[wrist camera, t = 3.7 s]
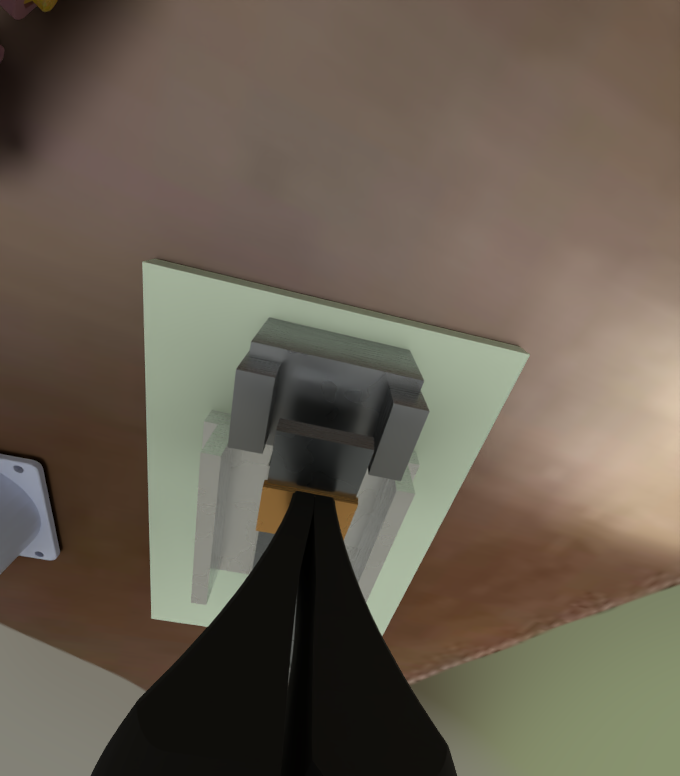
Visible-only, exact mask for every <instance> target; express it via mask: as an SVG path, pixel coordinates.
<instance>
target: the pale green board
mask: <svg viewBox="0 0 680 776" xmlns="http://www.w3.org/2000/svg"><path fill="white" fill-rule="evenodd" d="M142 263H143V302H144V342H145V381H146V421H147V460H148V500H149V540H150V579H151V619H158V620H165V621H172V622H179V623H185V624H192V625H199V626H206V627H208V626H209V625H210V624H211V622H212V621H213V620H214V619H215V618H216V616H217V615H218V614H219V613H220V612H221V610H222V609H223V608H224V607H225V605H226V604H227V603H228V602H229V600H230V599H231V598H232V597H233V595H234V594H235V593H236V591H237V590H238V589H239V587H240V586H241V585H242V583H243V582H244V581H245V579H246V578H247V577H248V575H249V574H243V573H237V572H231V571H225V570H219V571H218V574H217V577H216V580H215V582H214V585H213V588H212V591H211V594H210V596H209V599H208V602H207V605H202V604H196V603H191V593H192V577H193V561H194V546H195V530H196V514H197V498H198V482H199V466H200V452H201V450H202V442H203V427H204V421H205V419H206V418H207V416H208V415H209V413H210V412H211V410H215V411H220V412H224V413H229V414H231V411H232V401H233V392H234V383H235V373H236V369H237V367H238V366H239V364H240V363H241V361H242V360H243V359H244V357H245V356H246V354H247V353H248V352H249V350H250V345H251V341H252V340H253V338H254V337H255V335H256V334H257V333H258V331H259V330H260V329H261V327H262V326H263V325H264V323H265V322H266V321H267V319H268V318H269V317H270V318H275V319H279V320H283V321H288V322H292V323H296V324H301V325H305V326H309V327H313V328H318V329H322V330H326V331H331V332H335V333H339V334H343V335H348V336H352V337H356V338H361V339H365V340H369V341H373V342H378V343H382V344H386V345H391V346H395V347H399V348H403V349H408V350H410V351H411V354H412V356H413V358H414V360H415V362H416V364H417V366H418V368H419V371H420V373H421V375H422V377H423V379H424V383H423V386H422V388H421V392H422V395H423V397H424V399H425V402H426V404H427V406H428V409H429V411H430V412H429V414H428V417H427V419H426V421H425V424H424V426H423V429H422V431H421V433H420V436H419V438H418V441H417V443H416V446H415V448H414V450H413V451H415V452H416V454H417V457H418V461H419V464H420V466H419V468H418V470H417V473H416V475H415V477H414V479H413V486H414V490H415V496H414V498H413V500H412V502H411V505H410V507H409V509H408V511H407V513H406V516H405V518H404V520H403V522H402V525H401V527H400V529H399V531H398V533H397V536H396V538H395V540H394V542H393V544H392V547H391V549H390V551H389V553H388V556H387V558H386V560H385V562H384V564H383V567H382V569H381V571H380V573H379V575H378V578H377V580H376V582H375V584H374V587H373V589H372V591H371V593H370V595H369V598H368V600H367V602H366V604H367V606H368V608H369V610H370V612H371V615H372V617H373V619H374V621H375V623H376V625H377V627H378V629H379V631H380V633H381V635H383V633H384V631H385V630H386V628H387V626H388V624H389V622H390V620H391V618H392V616H393V614H394V612H395V611H396V609H397V607H398V605H399V603H400V601H401V599H402V597H403V595H404V593H405V592H406V590H407V588H408V586H409V584H410V582H411V580H412V578H413V576H414V574H415V573H416V571H417V569H418V567H419V565H420V563H421V561H422V559H423V557H424V555H425V553H426V552H427V550H428V548H429V546H430V544H431V542H432V540H433V538H434V536H435V534H436V533H437V531H438V529H439V527H440V525H441V523H442V521H443V519H444V517H445V515H446V514H447V512H448V510H449V508H450V506H451V504H452V502H453V500H454V498H455V496H456V495H457V493H458V491H459V489H460V487H461V485H462V483H463V481H464V479H465V477H466V476H467V474H468V472H469V470H470V468H471V466H472V464H473V462H474V460H475V458H476V456H477V455H478V453H479V451H480V449H481V447H482V445H483V443H484V441H485V439H486V437H487V436H488V434H489V432H490V430H491V428H492V426H493V424H494V422H495V420H496V418H497V417H498V415H499V413H500V411H501V409H502V407H503V405H504V403H505V401H506V399H507V398H508V396H509V394H510V392H511V390H512V388H513V386H514V384H515V382H516V380H517V379H518V377H519V375H520V373H521V371H522V369H523V367H524V365H525V363H526V361H527V359H528V358H529V356H530V354H529V353H527V352H526V351H525V350H523V349H522V348H521V347H519V346H515V345H511V344H507V343H503V342H499V341H494V340H490V339H486V338H482V337H478V336H474V335H470V334H465V333H461V332H457V331H453V330H449V329H445V328H441V327H436V326H432V325H428V324H424V323H420V322H416V321H412V320H408V319H403V318H399V317H395V316H391V315H387V314H383V313H379V312H374V311H370V310H366V309H362V308H358V307H354V306H350V305H345V304H341V303H337V302H333V301H329V300H325V299H321V298H317V297H312V296H308V295H304V294H300V293H296V292H292V291H288V290H283V289H279V288H275V287H271V286H267V285H263V284H259V283H254V282H250V281H246V280H242V279H238V278H234V277H230V276H225V275H221V274H217V273H213V272H209V271H205V270H201V269H197V268H192V267H188V266H184V265H180V264H176V263H172V262H168V261H163V260H159V259H152V260H147V261H143V262H142Z"/></svg>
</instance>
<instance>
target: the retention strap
mask: <svg viewBox="0 0 680 776" xmlns="http://www.w3.org/2000/svg"><path fill="white" fill-rule="evenodd" d="M373 453H374V437H370V436H365V435H360V434H356V433H351V432H346V431H341V430H336V429H331V428H327V427H322V426H317V425H312V424H307V423H302V422H297V421H293V420H288V419H283V418H280V419H279V422H278V426H277V429H276V433H275V439H274V445H273V451H272V457H271V463H270V468H269V474H268V480H265V481H264V484H263V488H262V494H261V500H260V506H259V513H258V519H257V525H256V531H259V533H258V539H257V544H256V550H255V556H254V562H253V568H254V567H255V565H256V564H257V562H258V561H259V559H260V557H261V556H262V554H263V553H264V551H265V550H266V548H267V547H268V545H269V543H270V542H271V540H272V538H273V536H274V535H275V533H276V531H277V529H278V527H279V526H280V524H281V522H282V520H283V518H284V516H285V514H286V512H287V509H288V507H289V504H290V502H291V499H292V495H293V493H295V491H302V492H307V493H312V494H314V497H315V494H317V495H322V496H328V497H333V499H334V501H335V506H336V511H337V516H338V521H339V525H340V529H341V533H342V537H343V540H344V538H345V536H346V533H347V531H348V529H349V526H350V524H351V521H352V519H353V516H354V514H355V511H356V509H357V506H358V497H356V496H357V494H358V491H359V489H360V486H361V483H362V481H363V478H364V476H365V473H366V471H367V468H368V466H369V463H370V461H371V458H372V455H373ZM253 568H252V570H253ZM296 601H297V598H296ZM295 617H296V607H295ZM295 617H294V626H293V636H292V646H291V657H290V662H291V661H292V654H293V644H294V632H295Z"/></svg>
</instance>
